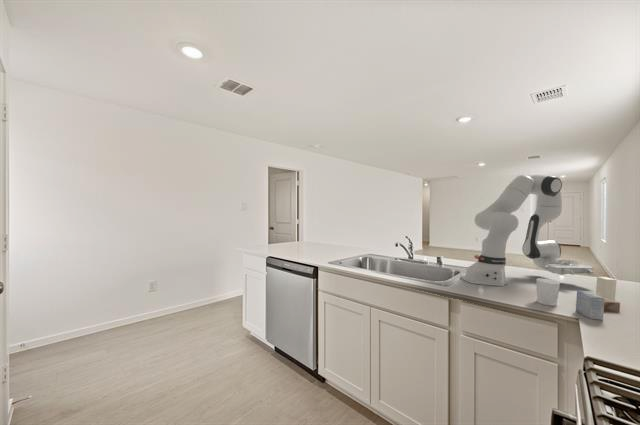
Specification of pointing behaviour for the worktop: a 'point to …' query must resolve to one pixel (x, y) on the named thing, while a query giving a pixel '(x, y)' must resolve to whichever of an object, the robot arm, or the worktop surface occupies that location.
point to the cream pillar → (606, 287)
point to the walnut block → (611, 305)
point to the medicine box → (590, 305)
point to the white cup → (547, 291)
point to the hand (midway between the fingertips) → (583, 273)
